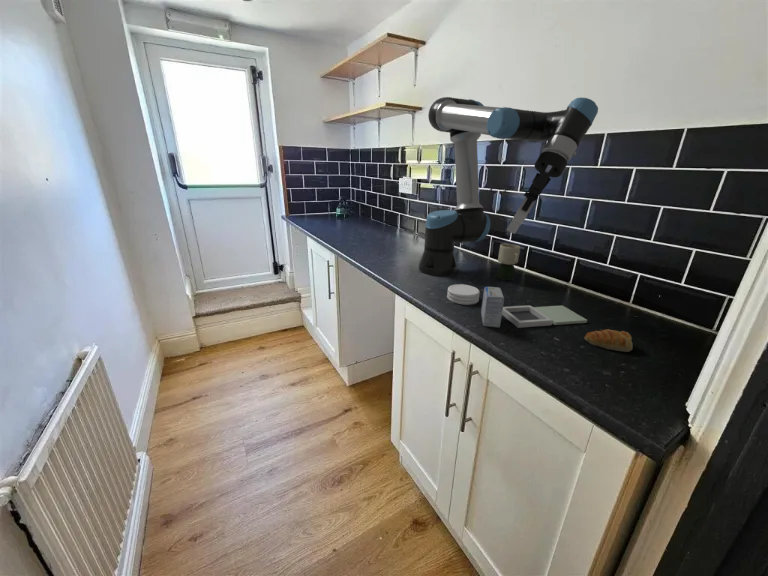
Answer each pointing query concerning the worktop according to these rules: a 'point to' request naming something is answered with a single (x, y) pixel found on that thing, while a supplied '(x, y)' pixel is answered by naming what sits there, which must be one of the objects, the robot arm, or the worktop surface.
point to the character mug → (507, 261)
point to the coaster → (463, 294)
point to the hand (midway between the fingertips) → (513, 227)
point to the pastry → (610, 340)
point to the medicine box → (492, 306)
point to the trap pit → (525, 316)
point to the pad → (561, 315)
